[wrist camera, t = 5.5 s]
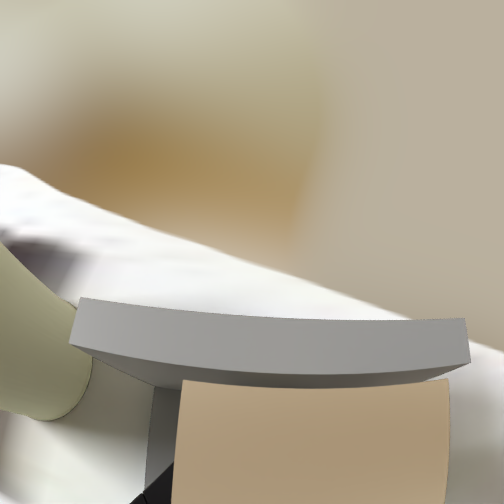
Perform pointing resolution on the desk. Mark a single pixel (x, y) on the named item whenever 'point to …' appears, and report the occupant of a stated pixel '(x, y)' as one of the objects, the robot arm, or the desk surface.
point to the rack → (257, 354)
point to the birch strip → (312, 444)
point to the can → (37, 347)
